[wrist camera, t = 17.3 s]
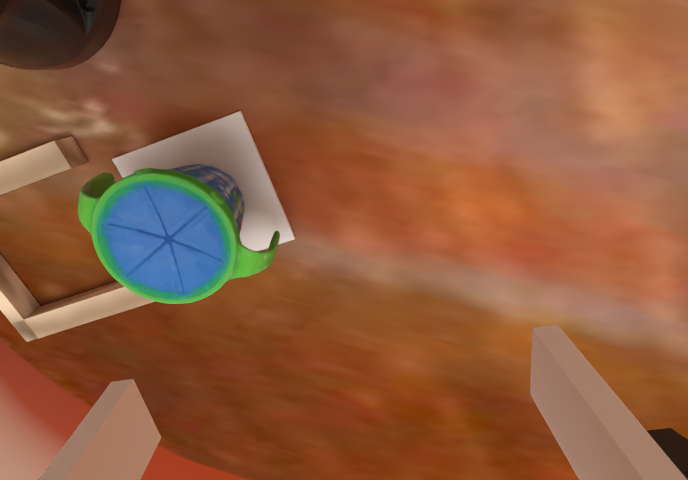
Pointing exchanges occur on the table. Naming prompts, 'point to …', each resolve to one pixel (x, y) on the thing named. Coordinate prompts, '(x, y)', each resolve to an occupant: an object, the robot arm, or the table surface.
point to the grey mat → (233, 159)
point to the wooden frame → (8, 290)
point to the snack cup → (170, 231)
